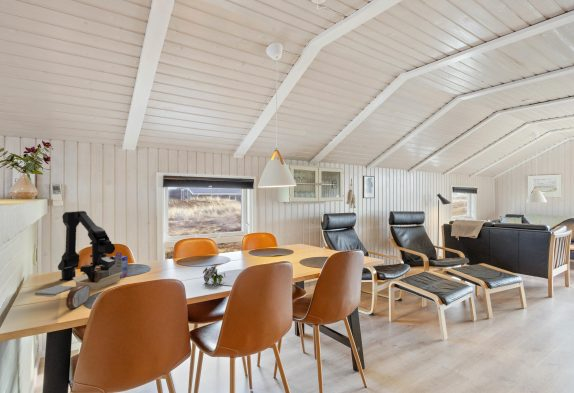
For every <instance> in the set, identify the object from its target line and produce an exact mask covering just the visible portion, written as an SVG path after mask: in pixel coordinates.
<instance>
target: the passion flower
mask: <svg viewBox="0 0 574 393" xmlns="http://www.w3.org/2000/svg"><path fill="white" fill-rule="evenodd" d="M202 274H203V277H202V278H203V280H204V281H205V282H204V284H205V285H206V284H207V283H209V282H210V280H211V279H212V280H213V285H214V286H217V284H219V285H220V284H221V283H222V281H223V279H224V278H226V272H224V273H221V274H218V268H217V264H215V265H214V266H211V267H209V268H208V267H205V268H204V270H203V271H202Z"/></svg>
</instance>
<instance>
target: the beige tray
mask: <svg viewBox="0 0 574 393" xmlns="http://www.w3.org/2000/svg"><path fill="white" fill-rule="evenodd" d="M122 273H123V272H120V273H117V274H114V275H109V277H106V278H103V279H100V281H99V282H98V283H91V282H88V276H87V275H86V273H83V274H81V275H77V276H76V277H74V278H73V279H72V280H73V281H74V282H75V287H77V286H79V285H82V284H83V285H89V287H90V290H99V289H102V288H105V287H107V286H109V285H112V284H114V283H117V282H120V281H121V278H120V275H121V274H122Z"/></svg>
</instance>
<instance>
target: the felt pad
mask: <svg viewBox="0 0 574 393" xmlns="http://www.w3.org/2000/svg"><path fill="white" fill-rule="evenodd" d="M75 287H76V286H73V285H72V286H70V285H69V286H68V285H55V286H51V287H48V288H44V289H42V290H38V291H35V292H34V295H35V294H36V295H38V296H50V297H55V296H57V295H59V294H62V293H65V292H68V291H70V290H71V289H73V288H75Z"/></svg>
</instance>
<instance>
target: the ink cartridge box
mask: <svg viewBox="0 0 574 393" xmlns="http://www.w3.org/2000/svg"><path fill="white" fill-rule="evenodd" d="M122 254H123V252H116V254H115V255H113V256H114V257H115V259H116V260H115V261H116V262H115V265H113V266H112V267H111V268H109V275H114V274H117V273H120V272H123V273H122V274H121V275H120V279H123V278H126V277H128V276H129V274H128V273H129V271H128V270H129V269H128V268H129V266H128V265H129V264H128V260H129V258H128V256H127V255H124V256H123V255H122Z"/></svg>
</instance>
